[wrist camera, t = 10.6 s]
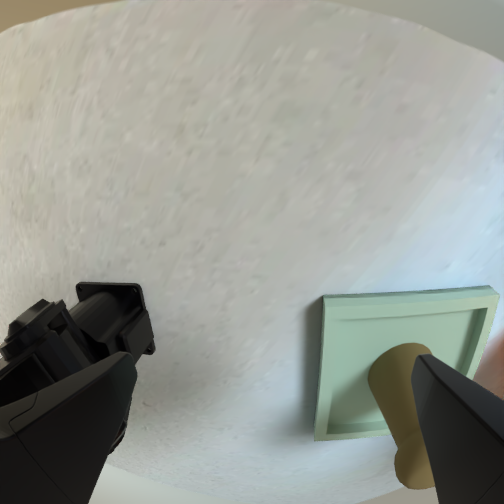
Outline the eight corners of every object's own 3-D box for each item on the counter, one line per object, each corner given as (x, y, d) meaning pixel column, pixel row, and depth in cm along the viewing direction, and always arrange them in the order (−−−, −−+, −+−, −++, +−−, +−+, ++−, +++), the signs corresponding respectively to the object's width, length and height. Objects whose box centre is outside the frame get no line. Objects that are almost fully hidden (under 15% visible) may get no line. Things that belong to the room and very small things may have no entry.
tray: (313, 427, 26) (314, 441, 25) (323, 294, 22) (325, 306, 20) (448, 411, 24) (453, 422, 23) (489, 285, 20) (500, 294, 18)
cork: (436, 334, 21) (495, 433, 11) (430, 388, 23) (468, 482, 13) (366, 351, 22) (398, 467, 12) (367, 403, 24) (387, 508, 14)
